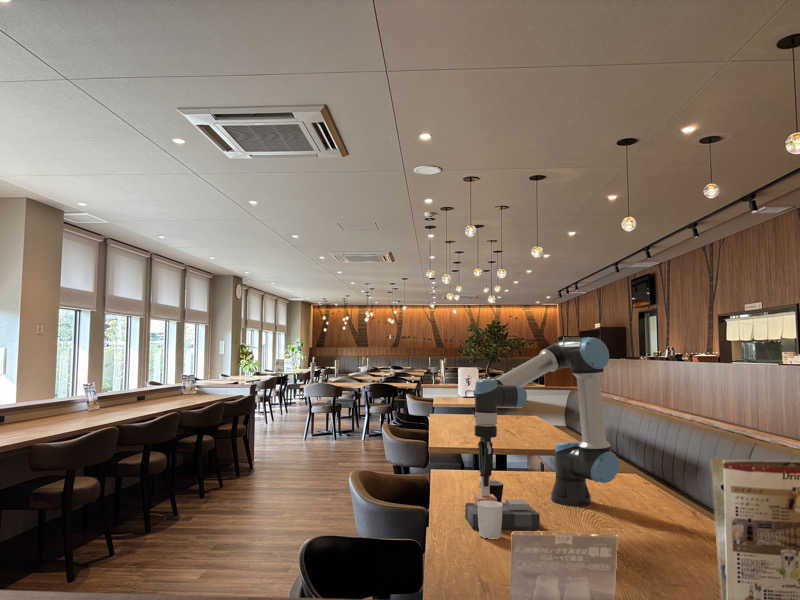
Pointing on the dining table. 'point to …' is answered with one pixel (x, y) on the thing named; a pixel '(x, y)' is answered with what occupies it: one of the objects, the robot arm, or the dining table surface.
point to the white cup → (490, 519)
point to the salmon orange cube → (484, 498)
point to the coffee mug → (496, 489)
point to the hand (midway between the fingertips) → (485, 495)
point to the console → (507, 518)
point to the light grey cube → (517, 504)
